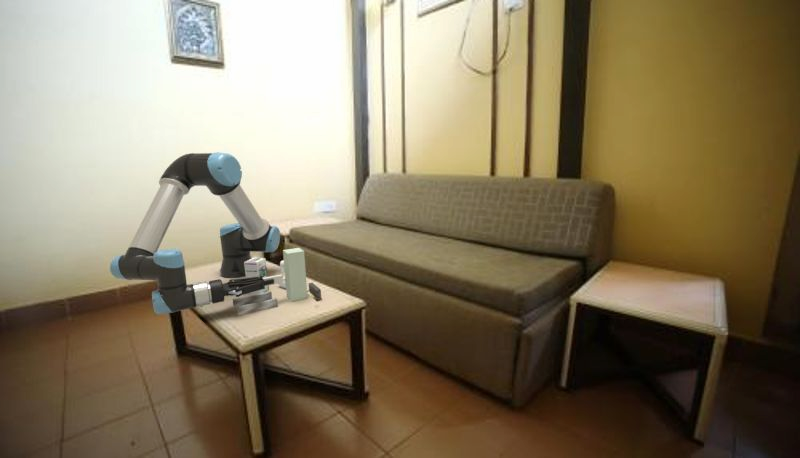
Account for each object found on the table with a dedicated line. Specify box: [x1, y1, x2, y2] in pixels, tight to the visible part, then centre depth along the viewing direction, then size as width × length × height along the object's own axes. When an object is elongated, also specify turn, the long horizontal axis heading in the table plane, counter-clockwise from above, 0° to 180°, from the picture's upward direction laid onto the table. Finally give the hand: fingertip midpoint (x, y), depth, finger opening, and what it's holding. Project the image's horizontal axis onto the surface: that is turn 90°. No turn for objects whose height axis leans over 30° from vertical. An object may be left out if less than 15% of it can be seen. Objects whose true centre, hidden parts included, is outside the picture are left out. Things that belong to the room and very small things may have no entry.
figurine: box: [278, 259, 286, 290], centre depth 146 cm, size 7×9×15 cm
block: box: [282, 247, 308, 303], centre depth 134 cm, size 6×6×18 cm
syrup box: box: [244, 257, 270, 295], centre depth 140 cm, size 6×6×14 cm
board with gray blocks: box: [232, 282, 323, 317], centre depth 132 cm, size 30×10×4 cm, turn 123°
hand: (282, 278), depth 131 cm, fingers closed
